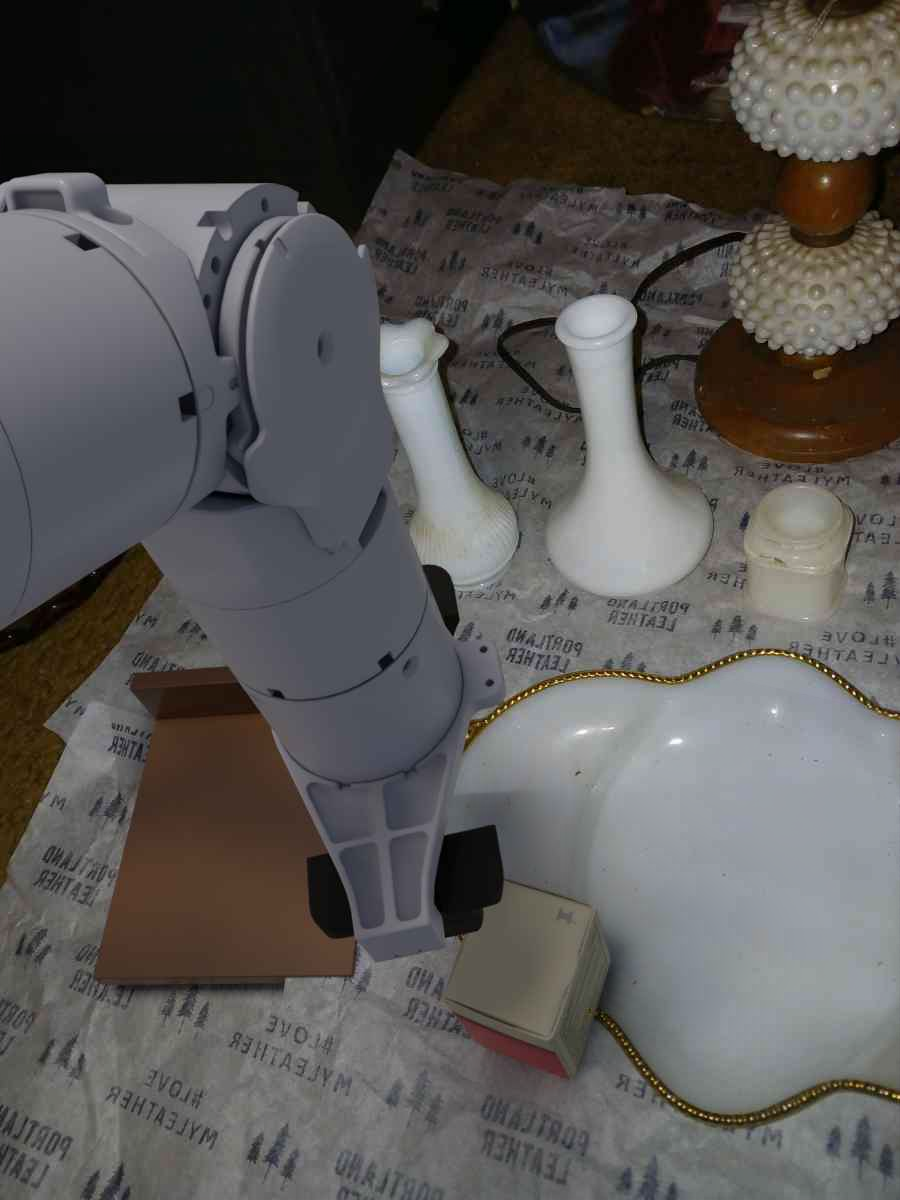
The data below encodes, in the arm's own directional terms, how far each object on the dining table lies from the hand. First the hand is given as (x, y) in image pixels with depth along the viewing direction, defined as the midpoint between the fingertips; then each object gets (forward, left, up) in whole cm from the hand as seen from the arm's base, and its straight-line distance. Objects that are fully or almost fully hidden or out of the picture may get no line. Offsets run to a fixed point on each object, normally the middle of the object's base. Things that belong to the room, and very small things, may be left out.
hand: (437, 824), depth 39 cm
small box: (-4, -3, -10) cm, 11 cm away
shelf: (+4, +11, -10) cm, 16 cm away
